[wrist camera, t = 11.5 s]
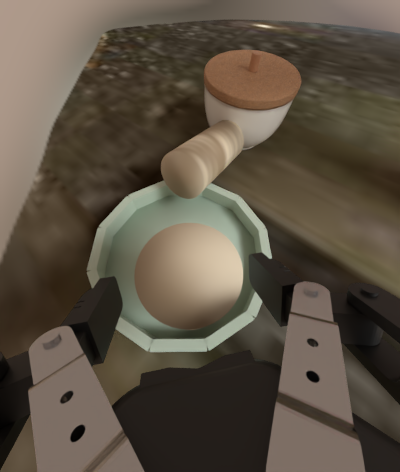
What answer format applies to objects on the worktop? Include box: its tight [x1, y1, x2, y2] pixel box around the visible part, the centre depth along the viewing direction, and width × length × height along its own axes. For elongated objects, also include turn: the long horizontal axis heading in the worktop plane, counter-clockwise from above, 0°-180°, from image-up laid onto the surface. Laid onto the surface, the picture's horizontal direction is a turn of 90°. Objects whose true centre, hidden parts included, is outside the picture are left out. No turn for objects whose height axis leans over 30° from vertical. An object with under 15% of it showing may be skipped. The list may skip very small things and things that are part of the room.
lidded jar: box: [204, 50, 301, 150], centre depth 24 cm, size 11×11×9 cm
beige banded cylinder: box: [161, 120, 244, 199], centre depth 20 cm, size 4×4×10 cm
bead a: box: [134, 223, 243, 330], centre depth 12 cm, size 4×4×10 cm
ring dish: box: [87, 180, 272, 352], centre depth 18 cm, size 16×16×3 cm
